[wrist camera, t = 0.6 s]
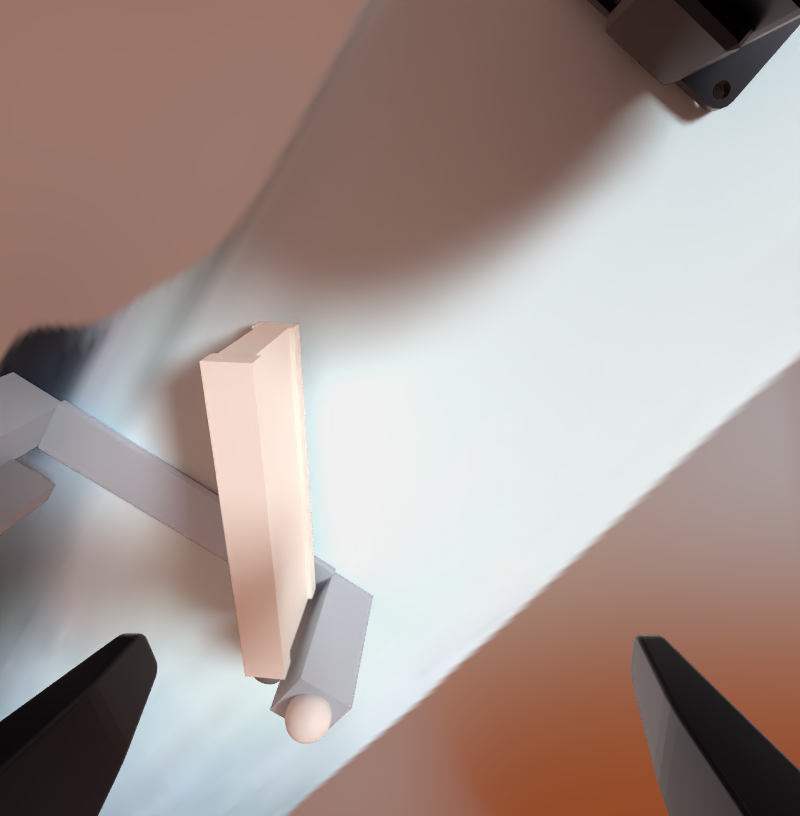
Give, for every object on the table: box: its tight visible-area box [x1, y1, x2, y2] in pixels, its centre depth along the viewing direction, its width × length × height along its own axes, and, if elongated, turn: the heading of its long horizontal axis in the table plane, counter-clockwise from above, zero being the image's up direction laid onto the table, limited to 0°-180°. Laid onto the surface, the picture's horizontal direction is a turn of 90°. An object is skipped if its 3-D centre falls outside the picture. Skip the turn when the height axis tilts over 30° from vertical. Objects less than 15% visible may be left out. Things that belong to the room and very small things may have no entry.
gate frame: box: [0, 372, 373, 744], centre depth 21 cm, size 3×19×7 cm, turn 54°
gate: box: [199, 322, 316, 684], centre depth 20 cm, size 2×14×5 cm, turn 179°
